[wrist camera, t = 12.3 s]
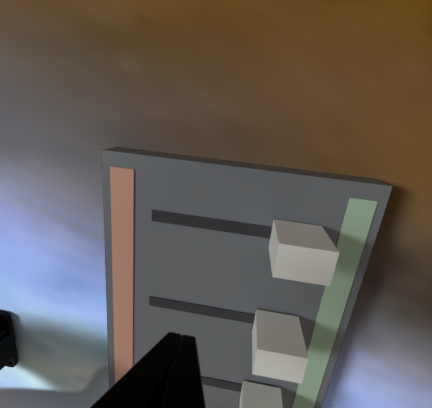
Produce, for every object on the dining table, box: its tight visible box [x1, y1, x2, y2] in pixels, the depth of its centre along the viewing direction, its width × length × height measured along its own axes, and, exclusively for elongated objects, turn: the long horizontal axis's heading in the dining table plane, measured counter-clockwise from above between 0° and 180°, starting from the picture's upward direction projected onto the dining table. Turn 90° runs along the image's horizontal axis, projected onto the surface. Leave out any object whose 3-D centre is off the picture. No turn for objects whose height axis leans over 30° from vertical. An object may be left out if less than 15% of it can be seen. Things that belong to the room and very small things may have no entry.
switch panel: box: [102, 147, 393, 408], centre depth 21 cm, size 18×22×2 cm
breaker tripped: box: [268, 219, 339, 286], centre depth 15 cm, size 3×2×4 cm, turn 84°
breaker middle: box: [252, 309, 309, 384], centre depth 17 cm, size 3×2×4 cm, turn 84°
